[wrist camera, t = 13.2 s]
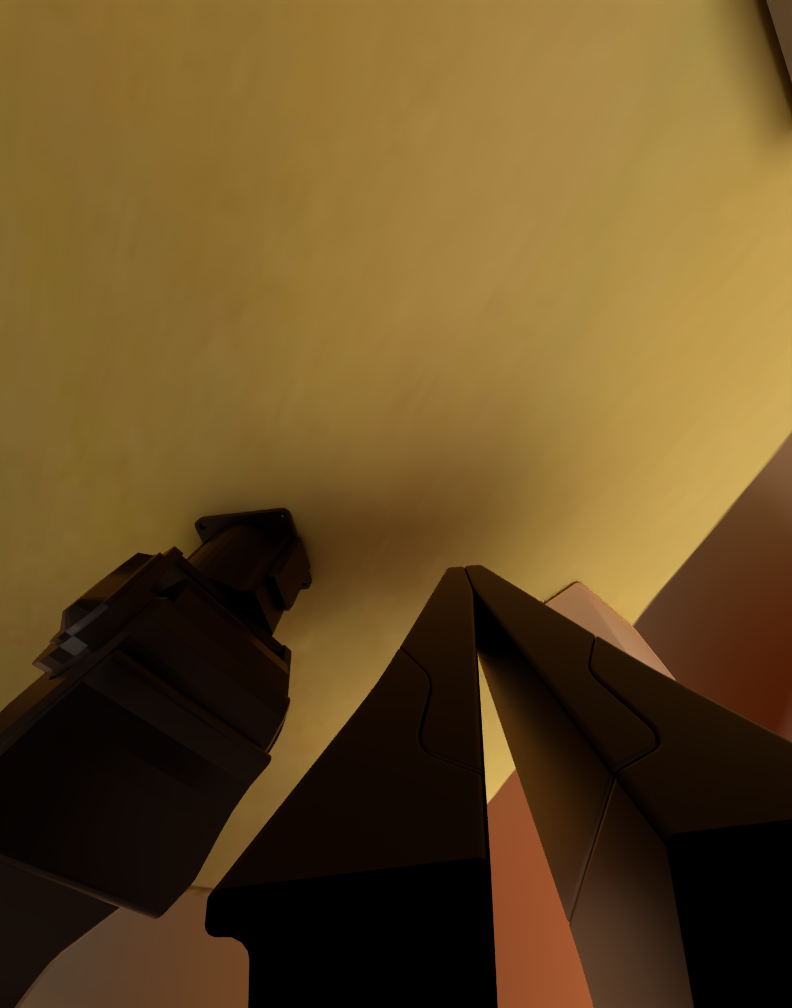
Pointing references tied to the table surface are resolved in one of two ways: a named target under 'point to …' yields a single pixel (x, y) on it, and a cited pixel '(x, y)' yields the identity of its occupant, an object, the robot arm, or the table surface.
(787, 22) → the tile
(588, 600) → the medicine bottle
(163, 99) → the table surface
